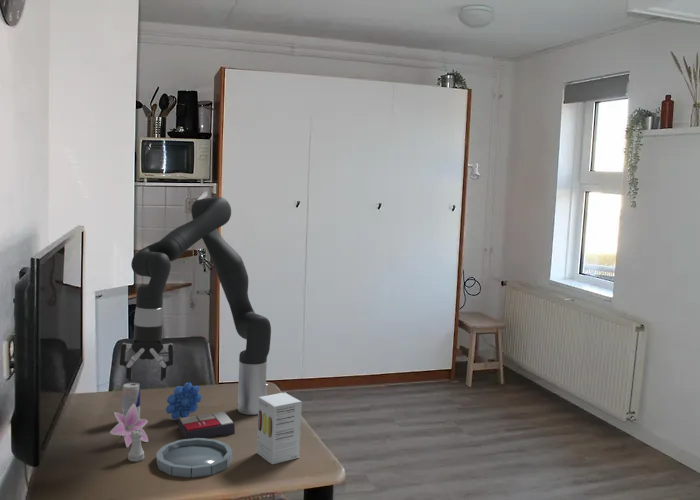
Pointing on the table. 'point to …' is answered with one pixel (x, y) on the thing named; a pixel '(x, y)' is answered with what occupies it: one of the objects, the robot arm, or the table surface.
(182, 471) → the round tray
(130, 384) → the energy drink
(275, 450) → the supplement box
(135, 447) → the rook chess piece
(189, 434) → the calculator
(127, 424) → the lily
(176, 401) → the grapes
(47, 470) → the table surface
